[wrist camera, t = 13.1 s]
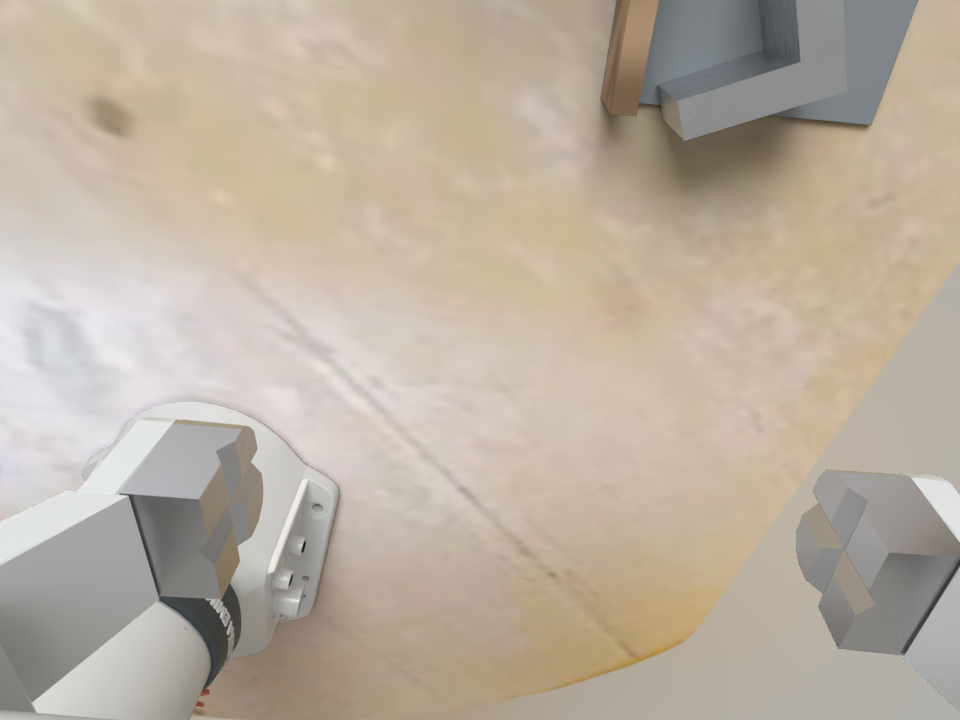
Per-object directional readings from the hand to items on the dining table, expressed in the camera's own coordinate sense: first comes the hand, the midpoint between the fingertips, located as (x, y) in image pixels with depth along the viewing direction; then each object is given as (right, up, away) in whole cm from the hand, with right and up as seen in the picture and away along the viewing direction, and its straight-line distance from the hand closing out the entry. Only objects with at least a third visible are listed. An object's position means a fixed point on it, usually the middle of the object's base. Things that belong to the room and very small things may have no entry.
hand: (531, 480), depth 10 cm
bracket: (+11, +18, +22) cm, 31 cm away
